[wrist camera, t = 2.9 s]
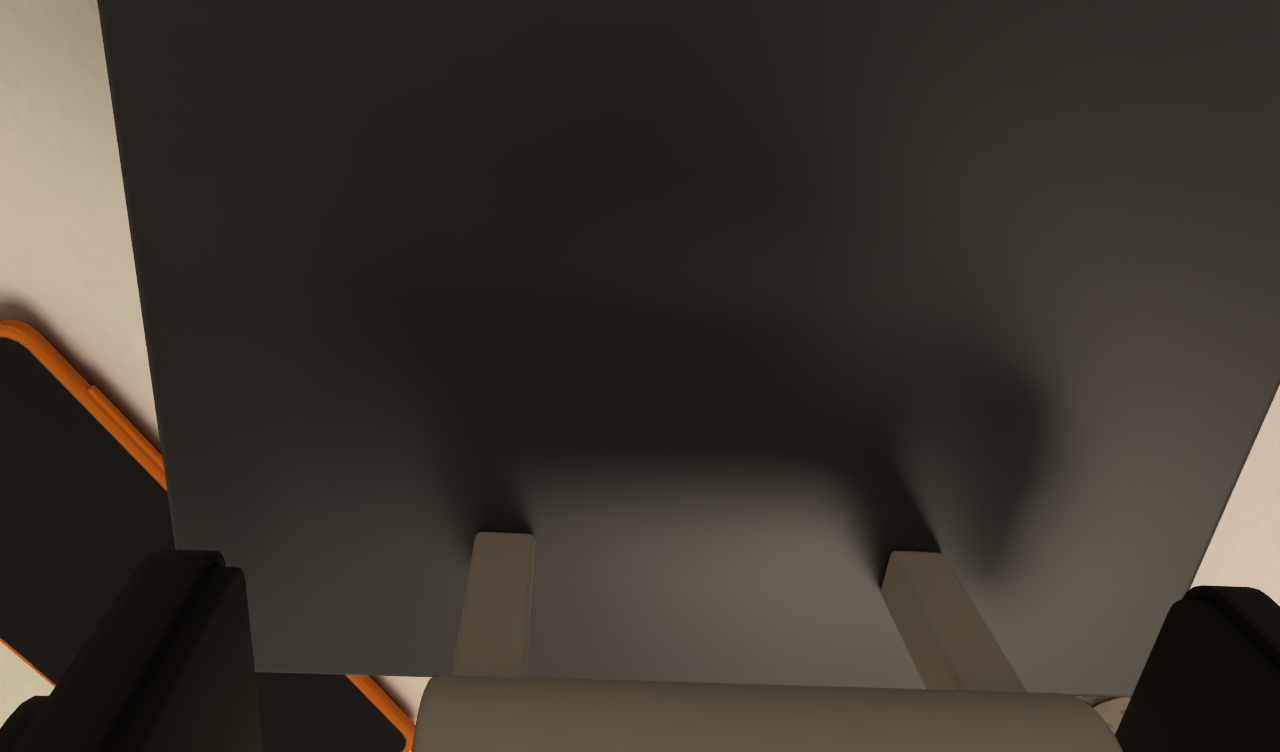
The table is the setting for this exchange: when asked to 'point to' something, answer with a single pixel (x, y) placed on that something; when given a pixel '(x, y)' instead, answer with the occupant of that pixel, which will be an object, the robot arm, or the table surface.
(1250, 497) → the table surface
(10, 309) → the table surface
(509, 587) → the storage bin lid
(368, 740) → the smartphone
